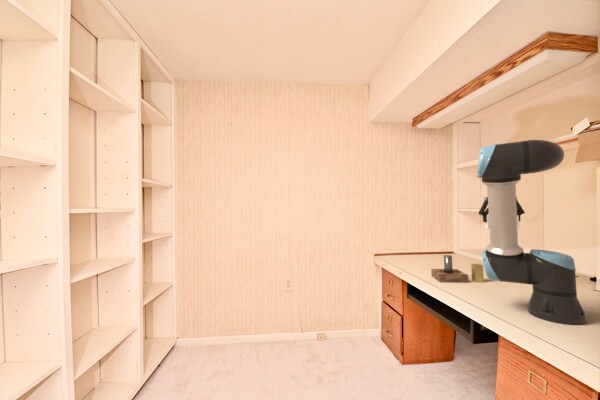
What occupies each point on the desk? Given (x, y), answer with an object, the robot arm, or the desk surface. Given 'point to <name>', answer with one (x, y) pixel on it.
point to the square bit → (477, 273)
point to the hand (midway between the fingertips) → (501, 228)
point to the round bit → (448, 264)
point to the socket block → (449, 276)
